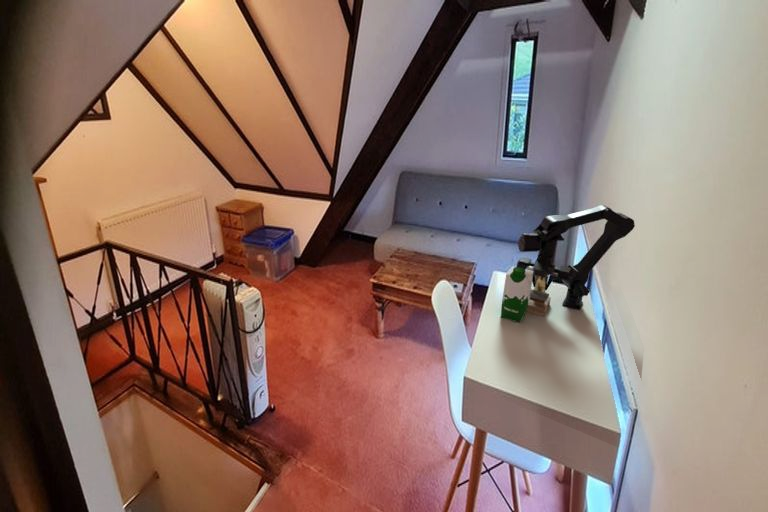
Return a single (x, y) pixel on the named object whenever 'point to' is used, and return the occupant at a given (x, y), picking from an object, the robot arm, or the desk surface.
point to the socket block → (538, 302)
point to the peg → (541, 283)
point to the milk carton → (516, 293)
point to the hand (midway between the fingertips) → (540, 288)
